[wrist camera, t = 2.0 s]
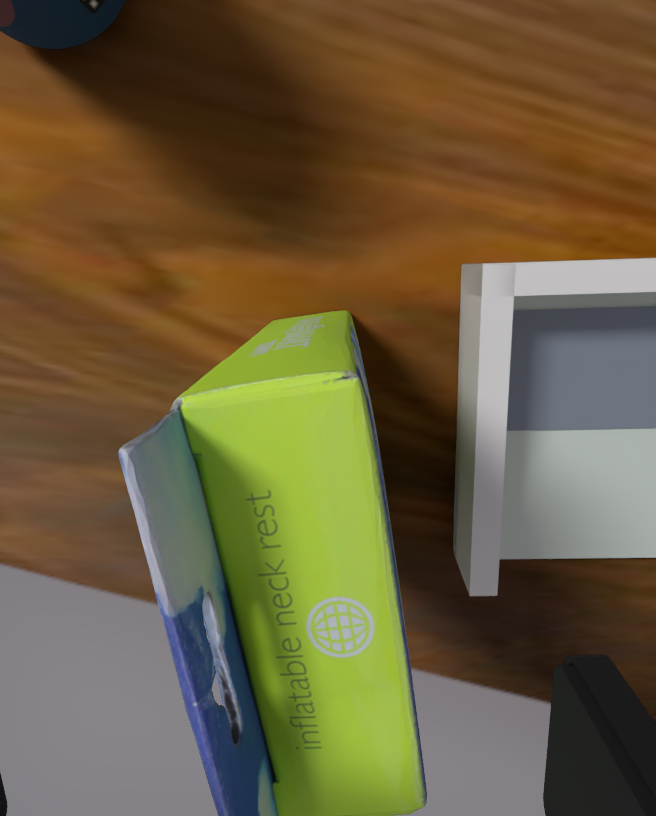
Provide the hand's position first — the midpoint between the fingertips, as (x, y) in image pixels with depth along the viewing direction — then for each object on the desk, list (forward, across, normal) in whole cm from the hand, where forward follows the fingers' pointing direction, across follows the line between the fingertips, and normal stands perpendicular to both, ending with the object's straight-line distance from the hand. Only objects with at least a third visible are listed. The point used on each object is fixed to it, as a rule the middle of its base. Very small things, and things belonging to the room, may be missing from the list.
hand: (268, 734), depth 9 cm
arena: (+17, -16, 0) cm, 23 cm away
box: (+18, -1, 0) cm, 18 cm away
